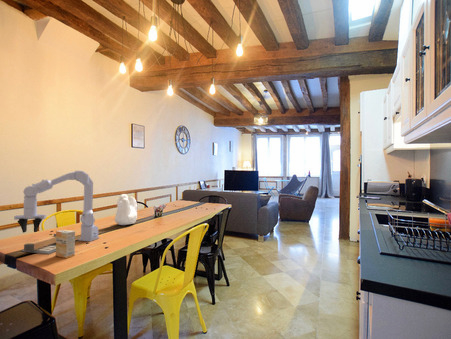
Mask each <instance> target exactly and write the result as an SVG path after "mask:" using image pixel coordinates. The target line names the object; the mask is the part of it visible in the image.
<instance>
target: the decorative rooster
mask: <svg viewBox="0 0 451 339" xmlns="http://www.w3.org/2000/svg"><path fill="white" fill-rule="evenodd" d="M116 204H117V206H116V207H117V208H116V213H115V216H114V223H116V224H117V225H119V226H120V225H121V226H126V225H131V224H135V223H136V221H137V219H138V207H139V206H138V202H137V200H136V198H135V197H134V196H128V194H126V193H122V194H121V195H120V196H119V199H118V200H117V202H116Z"/></svg>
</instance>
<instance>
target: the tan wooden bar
mask: <svg viewBox="0 0 451 339" xmlns="http://www.w3.org/2000/svg"><path fill="white" fill-rule="evenodd" d="M52 243H56V233H54V234H53V235H52V236H49V237H46V238H42V239H40V240H36V241H33V242H29V243H25V244H24V245H23V250H24V251H33V250H34V249H37V248H40V247H43V246H46V245H49V244H52Z"/></svg>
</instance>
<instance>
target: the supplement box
mask: <svg viewBox="0 0 451 339" xmlns="http://www.w3.org/2000/svg"><path fill="white" fill-rule="evenodd" d="M55 234H56V252H55V256H56V257H59V258H64V259H69V258H72V257H75V256H76V231H75V230H71V229H70V230H69V229H66V228H65V229H59V230H56V231H55Z"/></svg>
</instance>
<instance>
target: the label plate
mask: <svg viewBox="0 0 451 339" xmlns="http://www.w3.org/2000/svg"><path fill="white" fill-rule="evenodd" d="M21 252H24V253H33V254H43V255H51V254H53V253H56V245H53V244H49V245H46V246H43V247H40V248H37V249H34V250H33V251H24V249H21Z"/></svg>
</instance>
